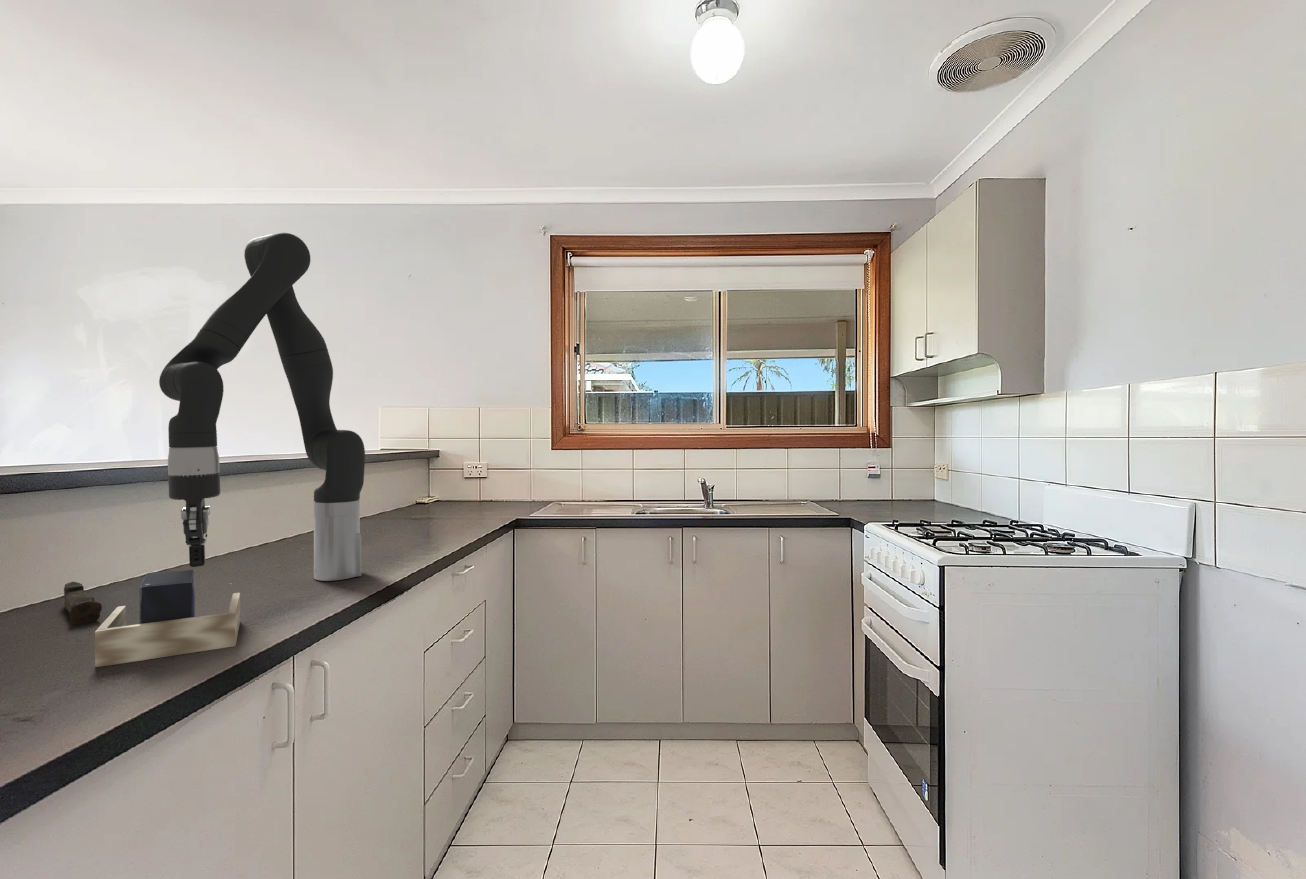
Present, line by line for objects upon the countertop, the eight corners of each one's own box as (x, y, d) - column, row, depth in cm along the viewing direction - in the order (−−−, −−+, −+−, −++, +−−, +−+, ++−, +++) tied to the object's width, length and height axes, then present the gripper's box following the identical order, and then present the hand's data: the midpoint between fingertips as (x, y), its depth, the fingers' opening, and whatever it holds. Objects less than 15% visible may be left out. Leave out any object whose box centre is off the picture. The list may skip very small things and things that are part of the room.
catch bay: (240, 621, 104) (240, 592, 104) (235, 645, 92) (235, 613, 92) (117, 637, 95) (117, 606, 95) (95, 667, 83) (95, 631, 83)
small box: (194, 649, 90) (194, 580, 90) (137, 659, 86) (137, 586, 86) (196, 631, 99) (195, 567, 99) (144, 639, 95) (143, 573, 95)
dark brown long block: (101, 622, 104) (102, 595, 104) (69, 627, 101) (69, 600, 101) (90, 601, 116) (90, 577, 116) (61, 606, 113) (61, 581, 113)
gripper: (216, 473, 106) (220, 570, 107) (222, 468, 117) (225, 556, 118) (162, 475, 102) (166, 576, 103) (173, 470, 113) (176, 561, 114)
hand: (197, 565), depth 110 cm, fingers closed
